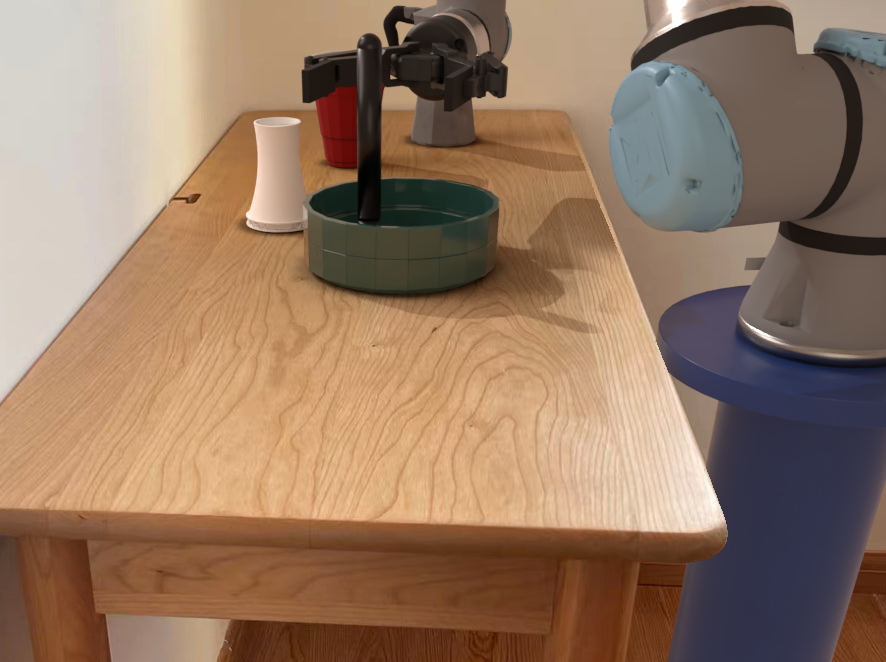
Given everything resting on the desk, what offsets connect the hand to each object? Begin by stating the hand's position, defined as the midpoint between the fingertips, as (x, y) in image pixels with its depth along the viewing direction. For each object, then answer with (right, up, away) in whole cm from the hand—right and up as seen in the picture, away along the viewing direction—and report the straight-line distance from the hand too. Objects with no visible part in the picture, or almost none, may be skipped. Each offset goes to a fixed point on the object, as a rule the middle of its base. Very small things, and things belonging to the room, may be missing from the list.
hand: (375, 90), depth 101 cm
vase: (-10, -4, +20) cm, 22 cm away
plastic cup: (-2, +12, +42) cm, 44 cm away
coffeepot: (+9, +20, +53) cm, 57 cm away
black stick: (0, -13, +7) cm, 14 cm away
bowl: (+3, -13, +7) cm, 15 cm away
